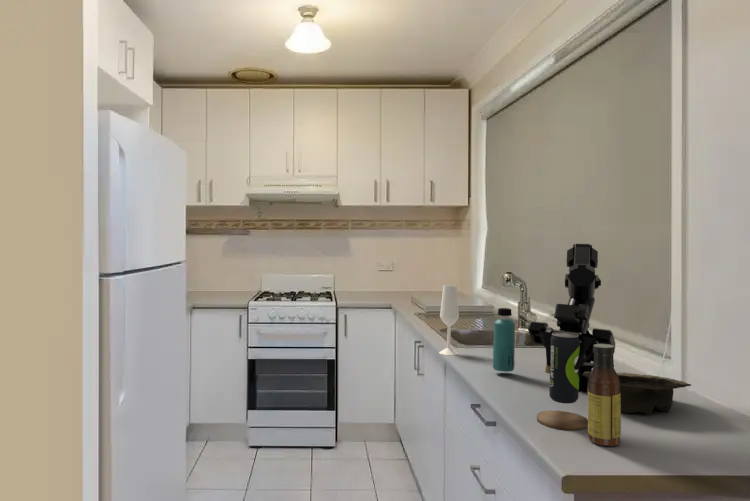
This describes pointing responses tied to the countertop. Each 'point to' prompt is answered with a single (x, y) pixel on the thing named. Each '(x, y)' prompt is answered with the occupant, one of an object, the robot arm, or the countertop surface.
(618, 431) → the sauce bottle
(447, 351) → the champagne flute
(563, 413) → the walnut coaster
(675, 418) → the countertop surface
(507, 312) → the beverage bottle
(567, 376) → the beverage can
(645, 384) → the stone bowl
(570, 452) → the countertop surface
